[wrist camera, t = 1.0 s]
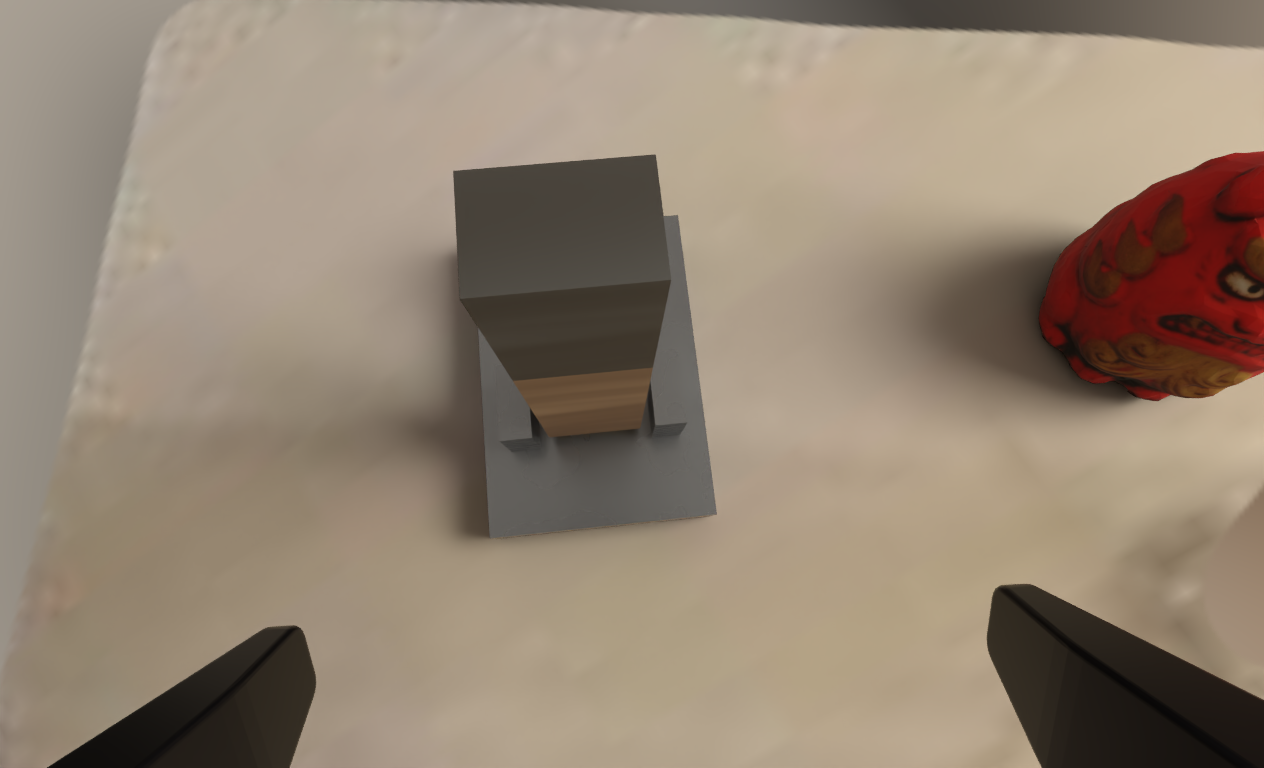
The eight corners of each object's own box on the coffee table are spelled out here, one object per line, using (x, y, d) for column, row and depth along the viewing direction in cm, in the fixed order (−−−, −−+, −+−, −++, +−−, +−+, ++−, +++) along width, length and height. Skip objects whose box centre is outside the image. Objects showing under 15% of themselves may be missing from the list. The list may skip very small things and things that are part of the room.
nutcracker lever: (639, 432, 23) (671, 279, 10) (551, 440, 23) (459, 298, 10) (633, 375, 24) (655, 154, 10) (547, 384, 23) (453, 170, 10)
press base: (710, 516, 24) (737, 508, 19) (497, 538, 24) (463, 537, 19) (674, 233, 27) (688, 157, 21) (480, 250, 26) (446, 176, 21)
